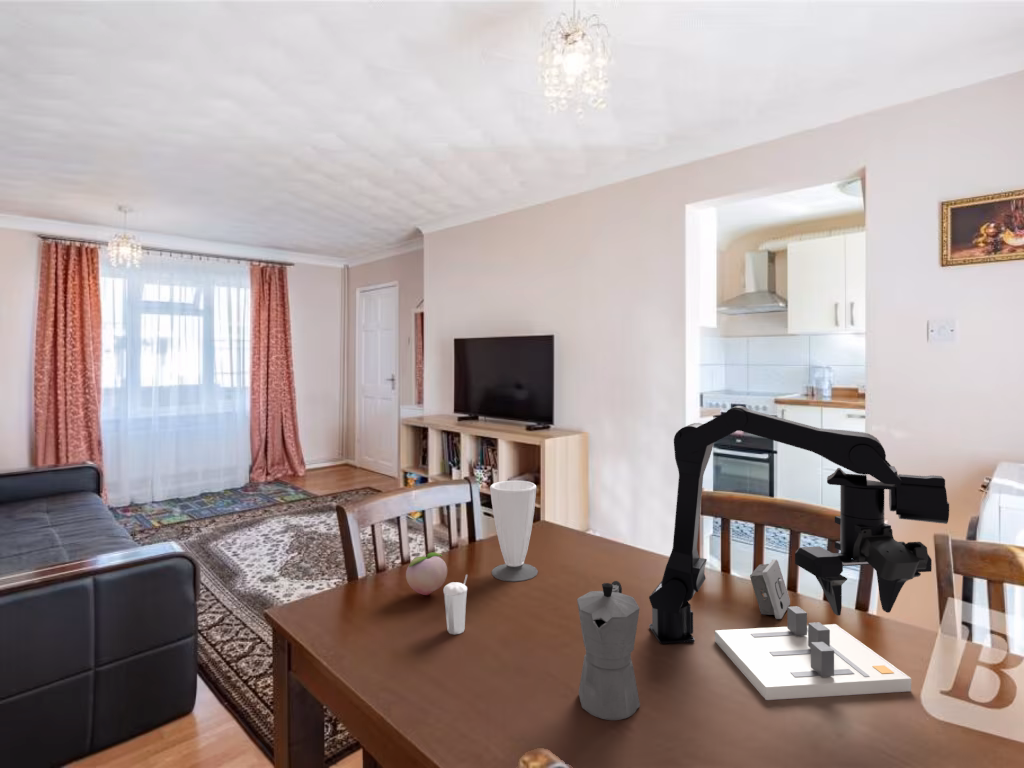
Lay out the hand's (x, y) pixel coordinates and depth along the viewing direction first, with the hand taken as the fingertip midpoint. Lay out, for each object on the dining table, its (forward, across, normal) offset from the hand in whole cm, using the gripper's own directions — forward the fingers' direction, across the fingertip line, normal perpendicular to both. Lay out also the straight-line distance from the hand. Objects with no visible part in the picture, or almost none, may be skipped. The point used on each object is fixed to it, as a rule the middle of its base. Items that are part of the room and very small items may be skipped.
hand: (861, 613), depth 83 cm
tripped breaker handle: (+9, -7, 0) cm, 11 cm away
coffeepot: (+11, -40, +1) cm, 42 cm away
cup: (+11, -50, +51) cm, 73 cm away
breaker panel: (+11, -6, +6) cm, 14 cm away
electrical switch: (+11, 0, +25) cm, 28 cm away
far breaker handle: (+9, -3, +12) cm, 15 cm away
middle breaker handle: (+9, -3, +6) cm, 11 cm away
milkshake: (+11, -64, +24) cm, 69 cm away
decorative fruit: (+11, -71, +40) cm, 82 cm away
